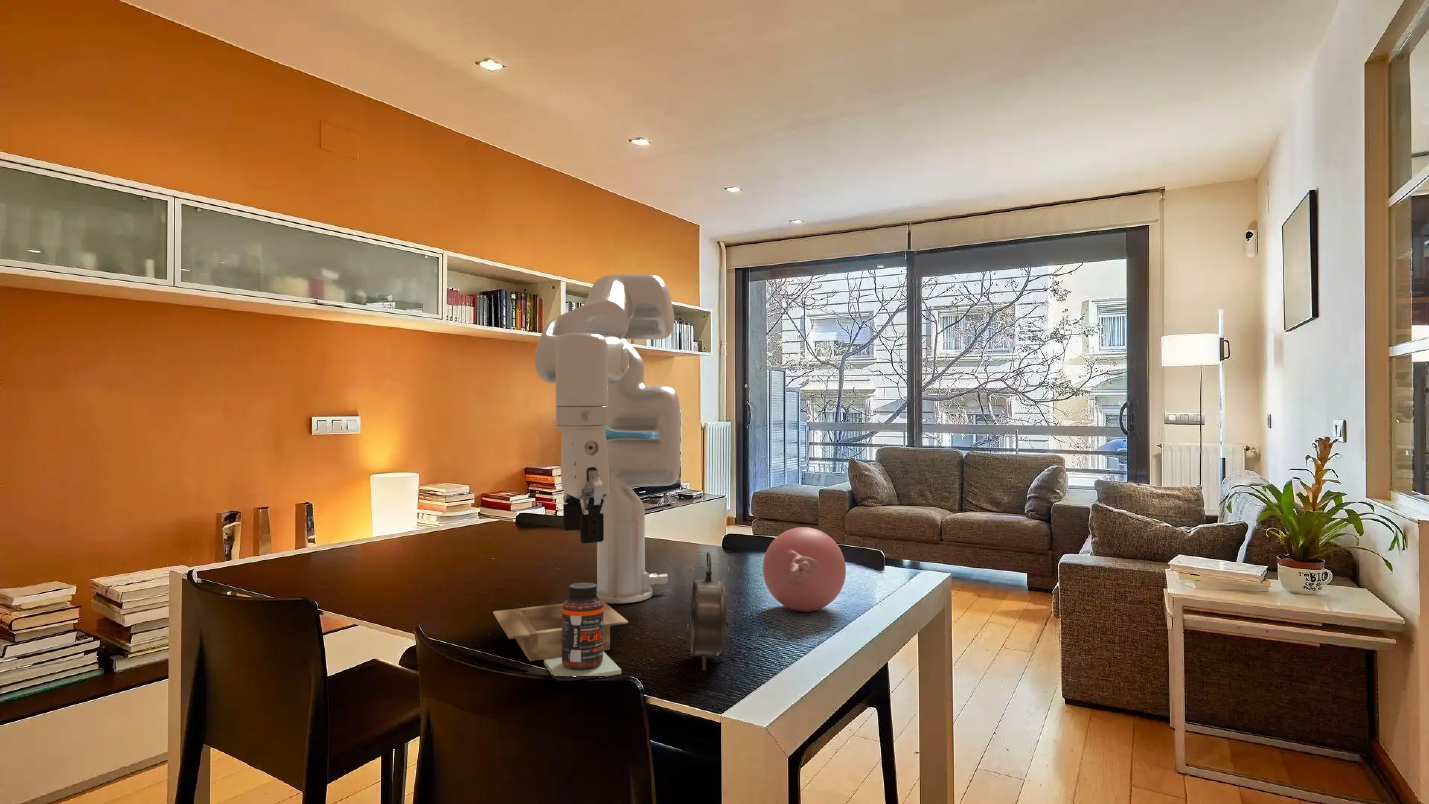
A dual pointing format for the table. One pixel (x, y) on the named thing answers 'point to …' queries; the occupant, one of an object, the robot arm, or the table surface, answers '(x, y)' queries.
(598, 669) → the coaster
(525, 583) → the table surface
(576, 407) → the robot arm
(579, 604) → the supplement bottle
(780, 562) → the salmon rubber sphere
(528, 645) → the carton
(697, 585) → the alarm clock
